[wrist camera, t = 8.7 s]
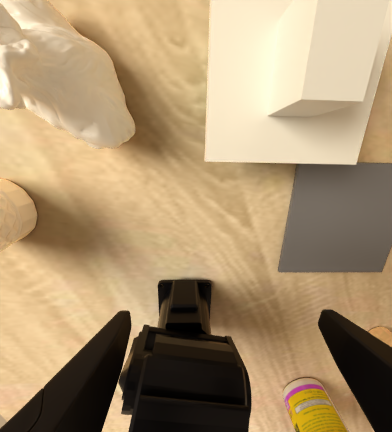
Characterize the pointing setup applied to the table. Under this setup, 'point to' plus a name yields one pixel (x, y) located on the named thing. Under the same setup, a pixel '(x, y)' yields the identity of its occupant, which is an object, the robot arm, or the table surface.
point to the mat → (339, 218)
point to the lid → (293, 78)
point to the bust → (60, 75)
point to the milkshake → (382, 334)
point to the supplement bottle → (312, 407)
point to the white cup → (15, 213)
